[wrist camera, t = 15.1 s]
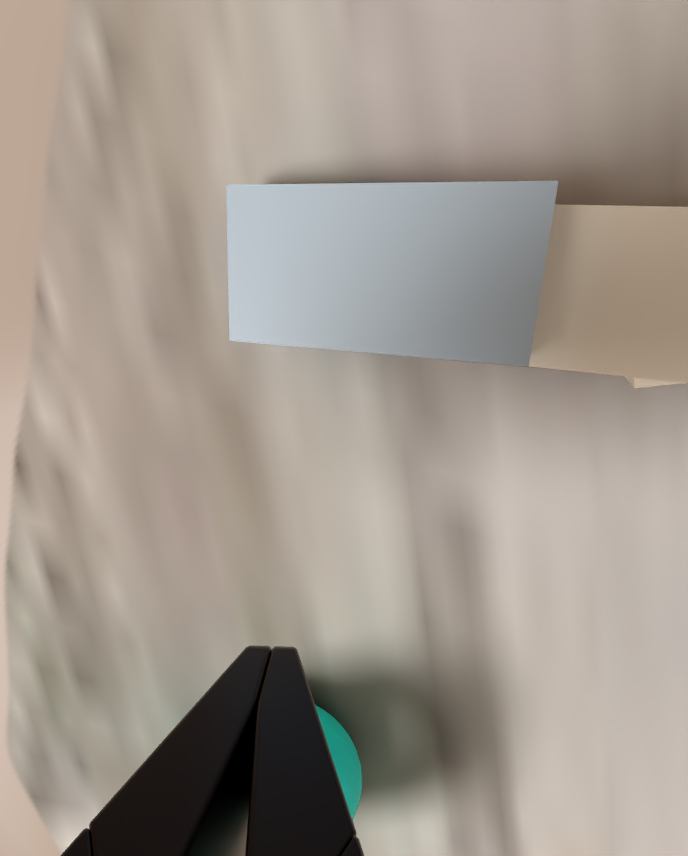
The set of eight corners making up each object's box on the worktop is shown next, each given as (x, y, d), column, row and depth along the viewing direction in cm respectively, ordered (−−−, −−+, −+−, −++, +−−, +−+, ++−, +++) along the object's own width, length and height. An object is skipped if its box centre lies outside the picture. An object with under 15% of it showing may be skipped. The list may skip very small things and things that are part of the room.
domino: (255, 196, 17) (550, 195, 14) (256, 336, 19) (524, 358, 16) (226, 184, 15) (558, 180, 13) (229, 340, 17) (528, 367, 14)
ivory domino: (427, 211, 17) (746, 219, 15) (413, 347, 19) (701, 376, 16) (419, 202, 16) (782, 208, 13) (404, 353, 17) (728, 386, 14)
